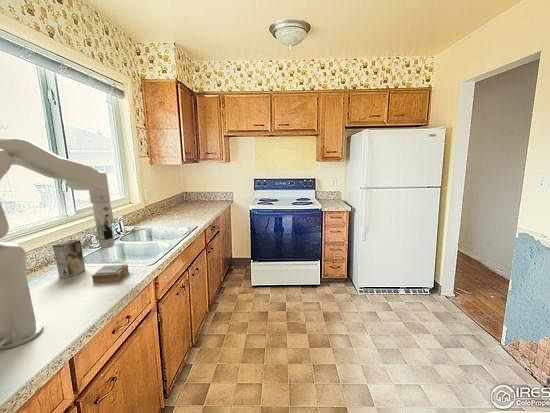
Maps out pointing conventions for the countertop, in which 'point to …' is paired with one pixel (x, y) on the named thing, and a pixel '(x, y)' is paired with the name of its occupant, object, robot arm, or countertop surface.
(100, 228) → the energy drink can
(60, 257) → the coffee box
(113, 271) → the plate
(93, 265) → the countertop surface
